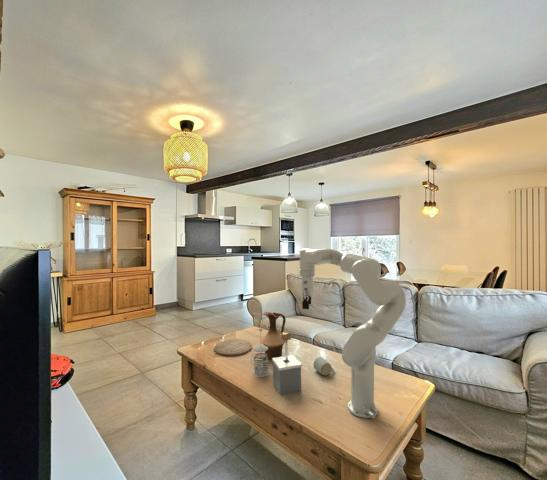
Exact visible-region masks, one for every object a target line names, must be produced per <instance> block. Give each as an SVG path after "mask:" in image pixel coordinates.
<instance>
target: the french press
mask: <svg viewBox="0 0 547 480" xmlns="http://www.w3.org/2000/svg"><path fill="white" fill-rule="evenodd" d="M258 331H259V332H260V334H262V331H263V328H259V329H258ZM267 350H268V347H267V346H265V345H263V344H258V345H256V346H254V347H253V351H255V352H257V353H254V354H252V355H251V359H250V364H251V365H252V366H253V371H252V375H253V376H254V375H255V376H254V377H256V376H257V378H265V377H268V376H269V375H270V374H271V371H270V370H269V359H268V357H267V354H265V351H267ZM253 356H254V357H253Z"/></svg>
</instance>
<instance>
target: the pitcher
mask: <svg viewBox="0 0 547 480" xmlns="http://www.w3.org/2000/svg"><path fill="white" fill-rule="evenodd" d="M261 315H263V316H266V317H267V318H268V321H269V328H268V331H267V333H266V334H265V335H264V336H263V337H260V339H259V342H260V344H261V345H265V346H267V347H268V350H267V351H264V353H265V354H267V357H268V360H271V361H272V358H276V357H282V356H283V347H284V345H285V340H283V339H281V333H282V332H285V331H284V330H285V327H286V325H285V324H286V322H287V321H286V320H287V319H286V316H285V314H284V313H282V312H275V311H273V312H270V311H267V312H262V314H261ZM279 317H282V324H281V329H280V330H281V331H280V332H279V331H278V329H277V320H278V318H279Z"/></svg>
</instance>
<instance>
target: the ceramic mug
mask: <svg viewBox="0 0 547 480" xmlns="http://www.w3.org/2000/svg"><path fill="white" fill-rule="evenodd" d="M312 364H313V365H312V366H313V369H314V370H315V371H317V372H318V373H319V374H321V376H326V377H327V376H329V375H330V374H331V373H334V371H335V369H334V368H333V367H332V364H330V362H329V361H327V360H326V359H325V358H324V357H322V356H318V357H316V358H315V359H314V361H313V363H312Z"/></svg>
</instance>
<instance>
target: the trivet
mask: <svg viewBox="0 0 547 480" xmlns="http://www.w3.org/2000/svg"><path fill="white" fill-rule="evenodd" d="M213 348H214V350H213V351H214V353H215V354H217V355H219V356H222V355H223V357H238V356H243V355H245V354H247V353H249V352H251V350H252V343H251V342H250V341H248V340H245V339H240V338H239V339H238V338H233V339H225V340H222V341H220V342H217V343H216V344H215V345H214V347H213Z"/></svg>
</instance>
